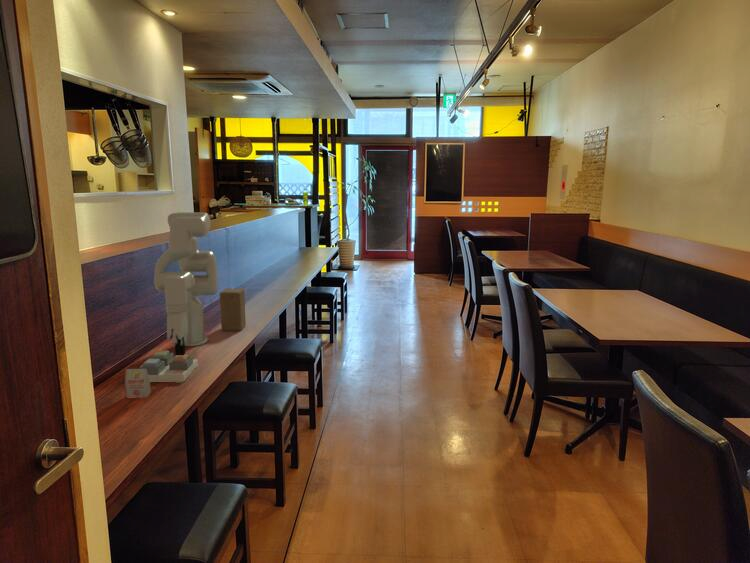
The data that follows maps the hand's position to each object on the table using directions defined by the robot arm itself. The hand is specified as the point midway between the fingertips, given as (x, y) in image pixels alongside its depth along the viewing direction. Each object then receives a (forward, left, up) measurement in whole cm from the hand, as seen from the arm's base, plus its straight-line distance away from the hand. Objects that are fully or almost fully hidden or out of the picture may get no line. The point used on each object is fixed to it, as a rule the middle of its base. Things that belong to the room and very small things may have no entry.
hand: (180, 354), depth 182 cm
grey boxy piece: (+19, -8, -8) cm, 23 cm away
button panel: (0, -5, -8) cm, 9 cm away
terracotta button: (0, 0, -3) cm, 3 cm away
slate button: (+4, -9, -3) cm, 11 cm away
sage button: (-5, -9, -3) cm, 11 cm away
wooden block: (-61, +5, -8) cm, 61 cm away
